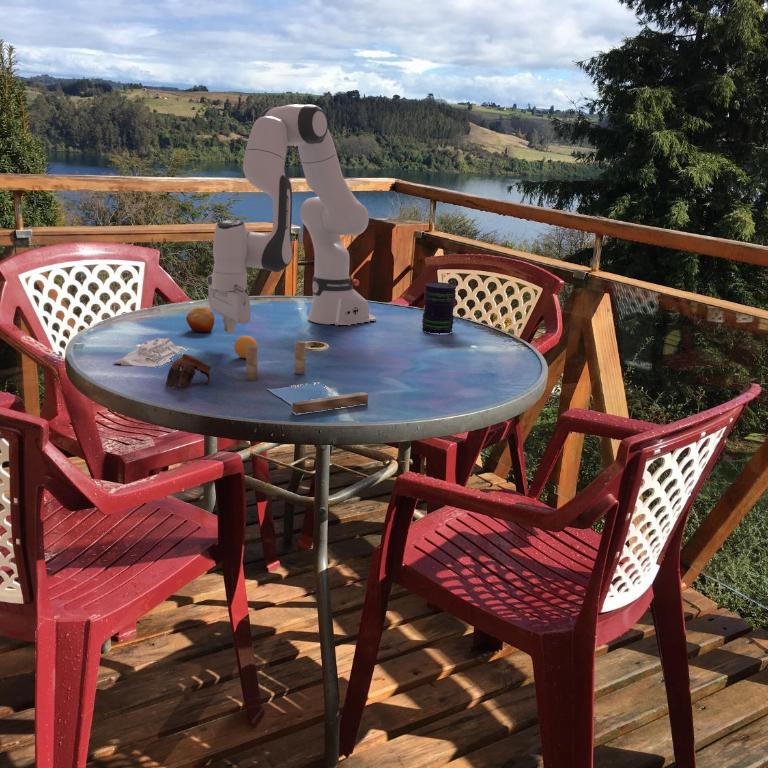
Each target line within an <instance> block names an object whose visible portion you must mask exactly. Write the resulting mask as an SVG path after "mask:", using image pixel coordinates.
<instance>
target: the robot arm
mask: <svg viewBox="0 0 768 768" xmlns="http://www.w3.org/2000/svg"><path fill="white" fill-rule="evenodd" d="M288 146H289V147H294V146H297V151H298V154H299V159H300V163H301V166H302V170H303V174H304V178H305V182H306V184H307V186H308V188H309V189H310V190H311V191H313V193H315V194H316V195H317V196H313V197H308V198H307V199H305V200H304V201H303V203H302V204H301V206H300V210H299V216H300V220H301V222H302V224H303V225H304V226H305V228H306V229H307V230H308V234H309V236H310V239H311V242H312V247H313V252H314V275H313V276H312V302H311V306H310V311H309V313H308V316H307V320H308V321H310V322H313V323H316V324H321V325H330V324H335V325H334V326H338V325H348V326H352V325H351V324H355V325H357V324H356V323H361V324H365V323H364V322H368V323H371V322H370V321H374V322H376V321H377V318H376V316H375V315H373V314H370V307H369V306H370V305H369V303H368V301H367V299H366V298H364V297H363V296H362V295H361V294H360V293H359V292H357V290H356V289H354V286H355V287H358V286H359V284H360V281H359V280H358V279H356V278H353V279H352V278H351V277H349V276H350V253H349V250H348V249H347V248H346V247H345V246H344V244H343V242H342V238H341V236H345V237H346V236H347V237H351V236H359V235H362V233H364V232H365V230H366V229H367V228H368V226H369V221H370V216H369V211H368V209H367V207H366V206H365V205H364V204H362V203H361V202H360V201H359V200H358V199H357V198H356V196H355V195H354V193H353V192H352V191H351V188H350V186H348V184H347V182H346V180H345V177H344V175H343V172H342V169H341V165H340V161H339V159H338V154H337V150H336V146H335V143H334V139H333V137H332V134H331V132H330V130H329V121H328V117H327V115H326V113H325V112H324V110H323V109H322V108H321V107H320V106H318V105H315V104H309V103H308V104H287V105H282V106H276V107H275V106H271V107H268V108H265V109H263V110H262V111H260V113H259V115H258V116H257V118H256V120H255V122H254V123H253V125H252V129H251V130H250V133H249V136H248V140H247V143H246V147H245V153H244V157H243V161H242V170H243V173H244V174H243V175H244V177H245V178H246V180H247V182H248V183H250V184H251V185H252V186H253V187H254V188H256V189H258V190H259V191H261V192H263V193H264V194H265V195H266V194H267V195H268V196H269V197H270V198H271V200H272V203H273V212H272V230H271V232H270V233H266V232H256V231H251V230H249V229H248V228H246V225H245V222H244V221H242V220H239V219H224V220H221V221H219V222H217V223H216V225H215V229H214V234H213V241H212V243H213V245H212V255H213V260H214V265H213V268H212V274H209V275H208V276H207V277H206V283H207V285H208V290H207V291H208V303H209V304H208V305H209V309H210V310H212V311H214V312H216V313H218V314H220V315H221V319H222V324H223V331H224V332H225V333H227V334H229V335H231V334H232V335H233V334H234V333H235V326H236V324H247V323H250V320H251V302H250V297H249V295H248V293H246V289H247V273H248V271H247V267H249V268H251V269H252V268H253V269H261V270H265V271H270V272H274V273H279V272H281V271H283V270H284V269H286V268H287V267H288V266H289V265H290V263H292V259H293V243H292V242H293V241H292V220H293V188H292V187H293V186H292V184H291V180H290V178H288V177H287V176H286V172H285V163H286V156H287V149H288ZM375 320H376V321H375Z"/></svg>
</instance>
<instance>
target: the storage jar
mask: <svg viewBox="0 0 768 768" xmlns="http://www.w3.org/2000/svg"><path fill="white" fill-rule="evenodd" d="M456 289H457V285H455V284H452V283H449V282H437V281H431V282H426V283H425V286H424V297H423V302H424V306H423V307H424V308H423V313H422V322H421V323H422V324H421V325H422V328H421V331H422V330H423V331H426V332H430V333H439V334H440V333H450V332H452V333H453V326H454V320H455V319H454V317H455V316H454V308H455V307H454V306H455V304H456V298H457V297H456V295H457V294H456V292H457V291H456ZM423 331H422V332H423Z"/></svg>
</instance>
